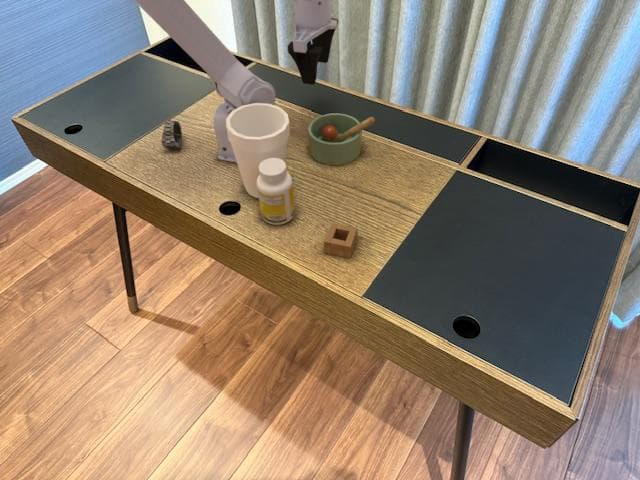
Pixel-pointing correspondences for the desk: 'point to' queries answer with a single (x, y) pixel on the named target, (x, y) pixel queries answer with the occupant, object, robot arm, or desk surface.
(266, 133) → the foam cup
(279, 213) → the supplement bottle
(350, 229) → the stand
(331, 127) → the bead
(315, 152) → the bowl
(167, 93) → the desk surface
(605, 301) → the desk surface
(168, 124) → the wristwatch
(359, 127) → the stick
